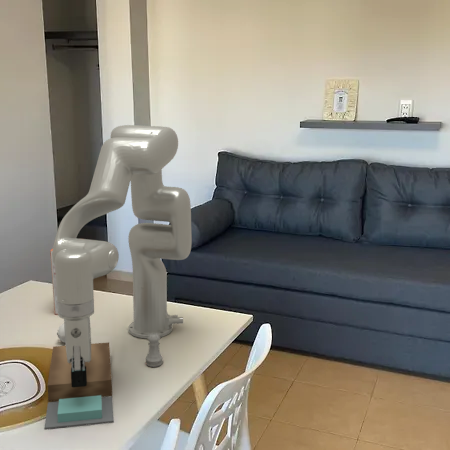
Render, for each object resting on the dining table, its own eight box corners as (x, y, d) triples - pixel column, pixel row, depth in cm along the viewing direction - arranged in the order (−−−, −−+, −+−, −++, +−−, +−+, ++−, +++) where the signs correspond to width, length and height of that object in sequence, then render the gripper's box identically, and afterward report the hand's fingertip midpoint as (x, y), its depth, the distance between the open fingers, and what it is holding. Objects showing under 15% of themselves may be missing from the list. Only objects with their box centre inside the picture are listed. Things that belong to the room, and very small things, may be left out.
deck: (109, 356, 153) (109, 342, 152) (112, 395, 134) (111, 379, 133) (53, 361, 150) (53, 346, 149) (48, 401, 131) (47, 385, 130)
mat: (112, 398, 133) (112, 396, 133) (113, 422, 124) (113, 420, 124) (48, 404, 130) (47, 402, 130) (44, 429, 121) (44, 427, 121)
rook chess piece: (155, 369, 147) (155, 339, 145) (141, 364, 149) (141, 335, 147) (166, 362, 151) (166, 333, 149) (152, 358, 153) (152, 329, 151)
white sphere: (59, 338, 164) (58, 319, 162) (80, 337, 164) (79, 318, 163) (54, 350, 156) (53, 330, 155) (76, 349, 157) (75, 330, 156)
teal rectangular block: (101, 409, 124) (102, 418, 125) (101, 395, 130) (101, 403, 130) (57, 414, 122) (57, 422, 123) (59, 399, 128) (59, 407, 128)
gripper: (94, 319, 118) (97, 401, 123) (93, 293, 132) (96, 367, 137) (55, 321, 117) (59, 404, 121) (59, 295, 131) (63, 370, 135)
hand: (79, 384), depth 129 cm, fingers closed
